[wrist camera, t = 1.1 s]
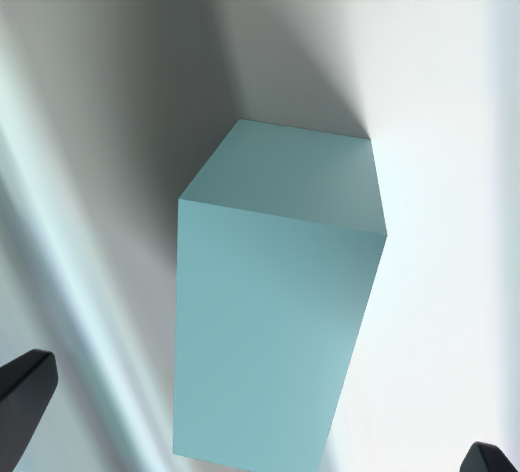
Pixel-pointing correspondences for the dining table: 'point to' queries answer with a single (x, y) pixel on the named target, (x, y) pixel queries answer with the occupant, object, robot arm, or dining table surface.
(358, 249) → the teal rectangular block
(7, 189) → the dining table surface
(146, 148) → the dining table surface
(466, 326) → the dining table surface
